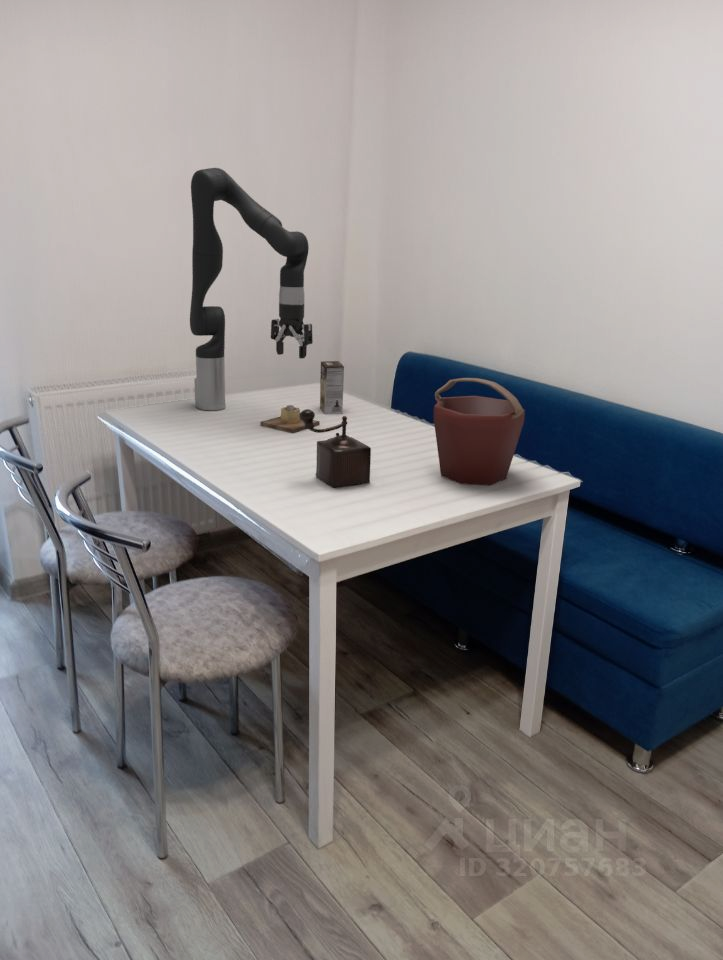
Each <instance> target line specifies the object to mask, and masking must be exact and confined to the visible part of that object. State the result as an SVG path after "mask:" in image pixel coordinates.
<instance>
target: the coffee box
mask: <svg viewBox="0 0 723 960" xmlns="http://www.w3.org/2000/svg"><path fill="white" fill-rule="evenodd" d="M344 375H345V366H344V365H343V364H342V363H341V362H340V361H339V360H334V361H331V360H329V361H328V360H327V361H325V360H324V361H322V360H321V361H320V389H319V391H320V393H319V408H320V410H321V411H322V412H323V413H324V414H325V415H331V414H332V415H334V414H335V415H337V414H342V415H343V407H344V404H343V403H344V402H343V401H344V379H345V378H344Z"/></svg>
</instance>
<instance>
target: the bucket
mask: <svg viewBox="0 0 723 960" xmlns="http://www.w3.org/2000/svg"><path fill="white" fill-rule="evenodd" d="M459 382H461V383H463V382H468V383H469V382H472V383H478V384H482V385H485V386H488V387H490V388H492V389H493V390H495V391H496V392H497V393H498V394H500V395H501V396H502V397H504V398H505V399H501V398H500V399H499V398H493V397H486V396H480V395H467V396H465V395H463V396H449V397H441V395H440V394H441V393H444V392H446V391H448V390H450V389H451V388H452V387H454V385H456V384H457V383H459ZM434 399H435V400H436V402H437V403H436V404H435V405H434V406H433V423H434V424H433V425H434V431H435V432H434V433H435V440H436V446H437V455H438V462H439V471H440V477H443V478H445V479H447V480H449V481H453V482H455V483H457V484H460V485H469V486H470V485H473V486H474V485H475V486H492V485H495V484H497V482H498V483H500V482H502V481H504V480H506V479H507V478H508V474H509V471H510V469H511V468H510V467H511V465H512V461H513V459H514V455H515V452H516V449H517V445H518V442H519V439H520V435H521V433H522V429H523V426H524V424H525V423H524V422H525V415H526V409H524V408H523V406H522V405H521V403H520V402H519V400H518V398H517V397H516V396H515V395H514V394H513V393H512V392H510V391H509V390H507V389H506V388H505V387H504V386H502V385H500V384H499V383H497V382H495V381H492V380H488V379H483V378H477V377H461V378H453V379H449V380H448V381H447V382H446V383H445V384H444V385H443V386H441V387H440V388H438V389H437V390H436V391H435V392H434ZM499 481H500V482H499Z"/></svg>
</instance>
